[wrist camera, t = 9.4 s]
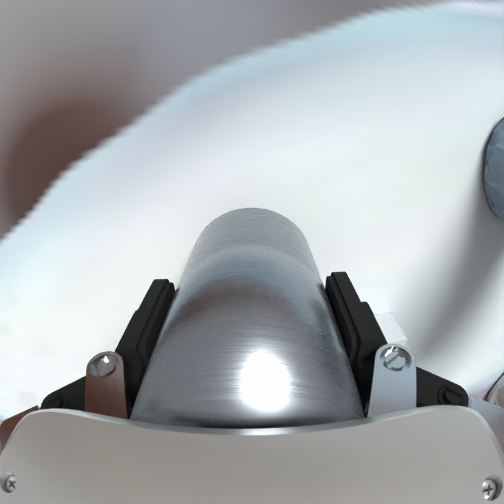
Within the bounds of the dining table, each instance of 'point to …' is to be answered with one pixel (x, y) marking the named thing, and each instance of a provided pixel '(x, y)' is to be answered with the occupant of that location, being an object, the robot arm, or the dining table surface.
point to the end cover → (249, 335)
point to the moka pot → (495, 171)
